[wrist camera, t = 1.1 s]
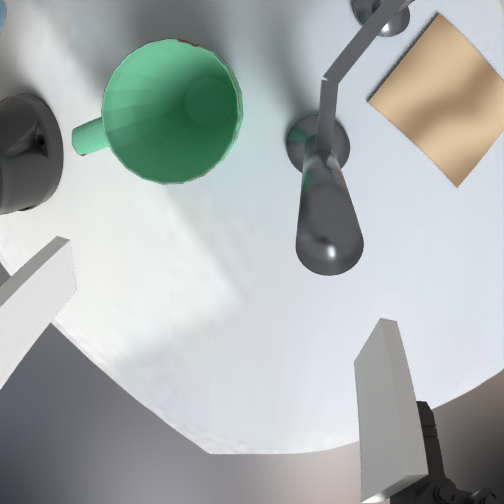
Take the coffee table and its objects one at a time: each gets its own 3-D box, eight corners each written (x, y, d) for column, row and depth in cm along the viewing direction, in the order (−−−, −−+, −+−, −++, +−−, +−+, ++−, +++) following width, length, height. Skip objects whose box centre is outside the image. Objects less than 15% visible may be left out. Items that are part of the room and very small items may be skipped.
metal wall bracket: (250, 134, 28) (160, 216, 12) (372, -22, 18) (444, -134, 2) (323, 187, 29) (336, 330, 13) (445, 37, 20) (591, 13, 3)
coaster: (367, 102, 25) (367, 102, 24) (438, 14, 19) (439, 13, 18) (456, 186, 26) (457, 187, 26) (519, 104, 21) (521, 105, 20)
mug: (250, 39, 24) (220, 18, 15) (273, 142, 28) (256, 170, 19) (110, 85, 27) (43, 95, 19) (134, 172, 32) (77, 208, 23)
